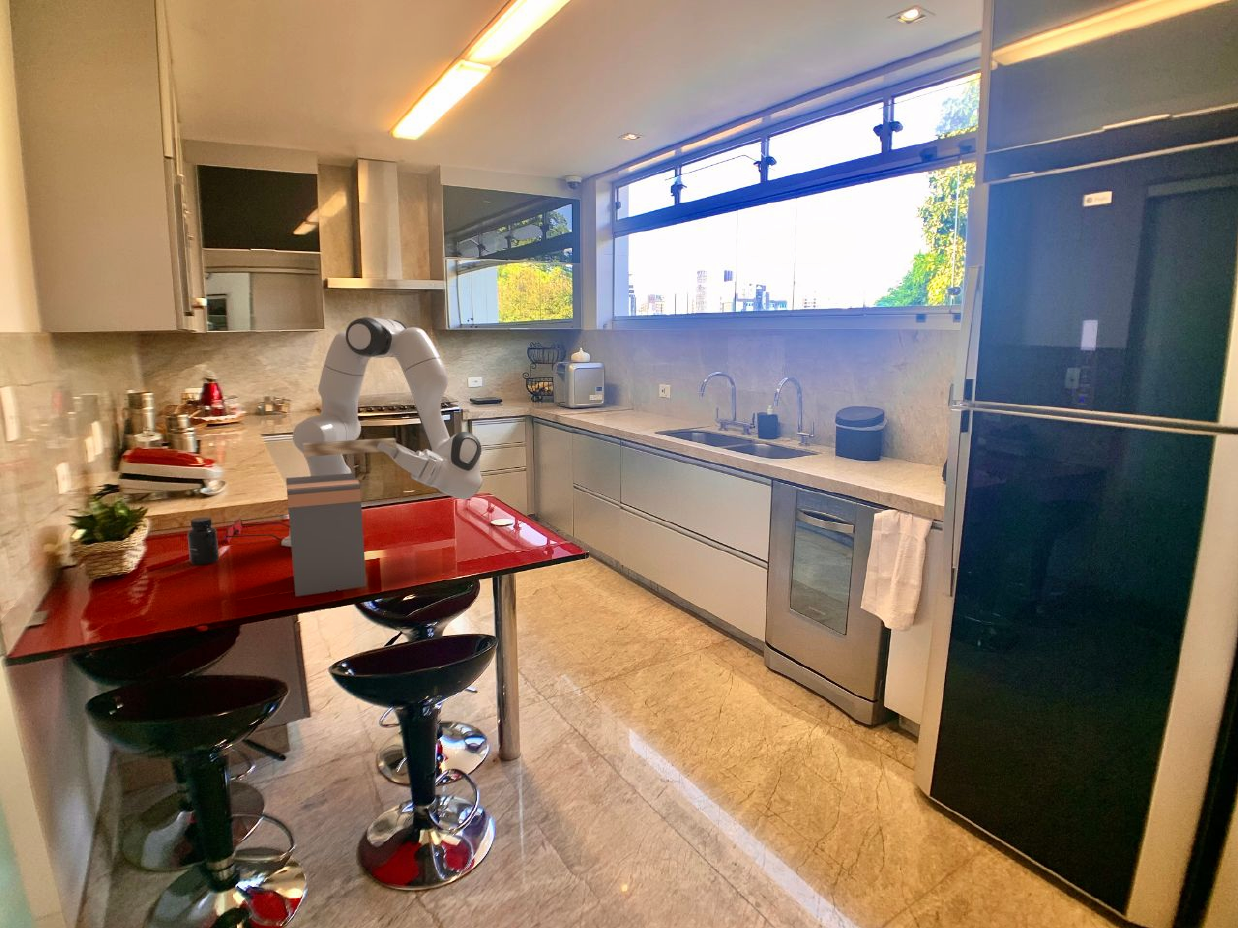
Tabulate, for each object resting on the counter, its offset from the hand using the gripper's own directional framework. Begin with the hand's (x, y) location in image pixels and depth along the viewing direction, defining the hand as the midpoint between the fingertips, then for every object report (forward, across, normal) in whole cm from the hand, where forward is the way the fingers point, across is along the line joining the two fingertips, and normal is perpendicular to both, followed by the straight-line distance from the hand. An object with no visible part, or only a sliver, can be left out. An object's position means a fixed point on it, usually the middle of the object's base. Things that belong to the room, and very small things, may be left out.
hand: (376, 443), depth 176 cm
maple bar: (+4, 0, +5) cm, 7 cm away
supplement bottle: (+21, -26, +51) cm, 61 cm away
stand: (-5, +4, +36) cm, 37 cm away
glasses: (+9, -46, +45) cm, 65 cm away
